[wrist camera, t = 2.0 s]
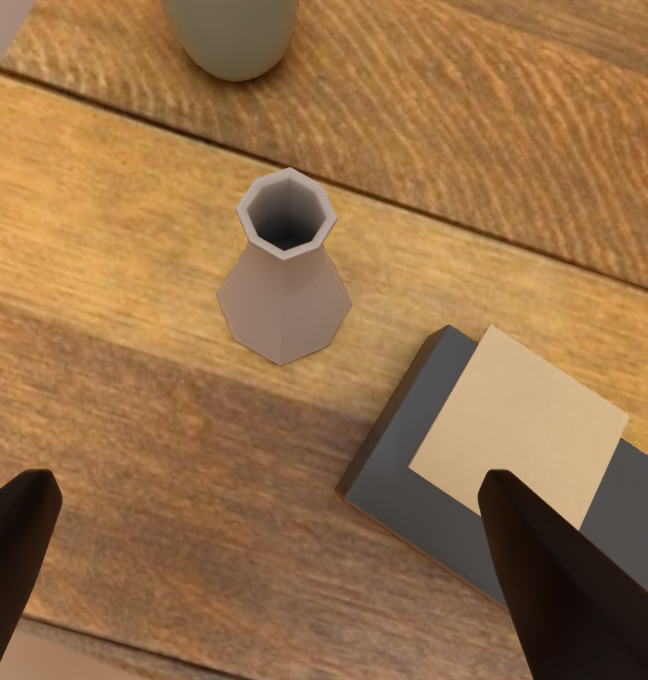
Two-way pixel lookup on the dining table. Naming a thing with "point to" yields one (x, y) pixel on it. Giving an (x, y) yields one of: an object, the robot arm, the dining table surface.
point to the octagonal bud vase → (284, 270)
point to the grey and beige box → (497, 456)
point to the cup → (233, 34)
